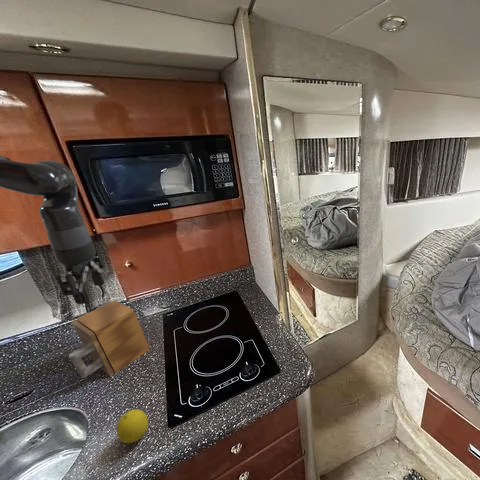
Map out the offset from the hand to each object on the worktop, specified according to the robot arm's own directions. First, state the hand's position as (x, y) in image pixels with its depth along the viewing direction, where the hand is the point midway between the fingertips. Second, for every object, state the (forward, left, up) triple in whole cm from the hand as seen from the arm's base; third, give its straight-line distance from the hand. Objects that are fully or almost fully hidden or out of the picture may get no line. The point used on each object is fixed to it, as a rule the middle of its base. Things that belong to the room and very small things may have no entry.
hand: (91, 293), depth 71 cm
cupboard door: (-7, 0, -24) cm, 25 cm away
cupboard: (+1, 0, -24) cm, 24 cm away
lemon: (-10, -31, -24) cm, 41 cm away
